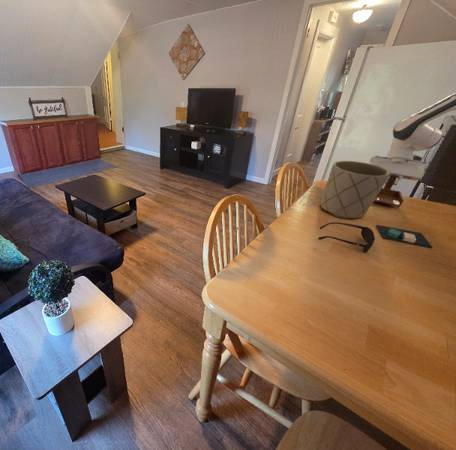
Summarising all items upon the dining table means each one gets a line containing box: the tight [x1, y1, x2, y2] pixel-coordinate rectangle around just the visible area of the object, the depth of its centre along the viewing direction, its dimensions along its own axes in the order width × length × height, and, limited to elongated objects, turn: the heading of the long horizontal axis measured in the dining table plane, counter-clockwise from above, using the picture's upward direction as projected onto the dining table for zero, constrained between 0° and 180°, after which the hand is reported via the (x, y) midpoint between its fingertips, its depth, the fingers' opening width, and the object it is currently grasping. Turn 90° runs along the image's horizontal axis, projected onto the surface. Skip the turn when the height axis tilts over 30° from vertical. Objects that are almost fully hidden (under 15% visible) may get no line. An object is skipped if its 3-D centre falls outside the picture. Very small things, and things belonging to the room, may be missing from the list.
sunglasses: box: [318, 221, 376, 253], centre depth 89 cm, size 14×16×5 cm
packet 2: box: [402, 232, 416, 243], centre depth 90 cm, size 4×3×2 cm
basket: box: [373, 174, 405, 207], centre depth 115 cm, size 14×10×10 cm
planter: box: [320, 160, 390, 219], centre depth 105 cm, size 19×19×20 cm
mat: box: [376, 224, 433, 249], centre depth 93 cm, size 14×10×1 cm
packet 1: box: [387, 229, 402, 238], centre depth 92 cm, size 4×3×2 cm
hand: (389, 183), depth 118 cm, fingers closed on basket, 2 cm apart
